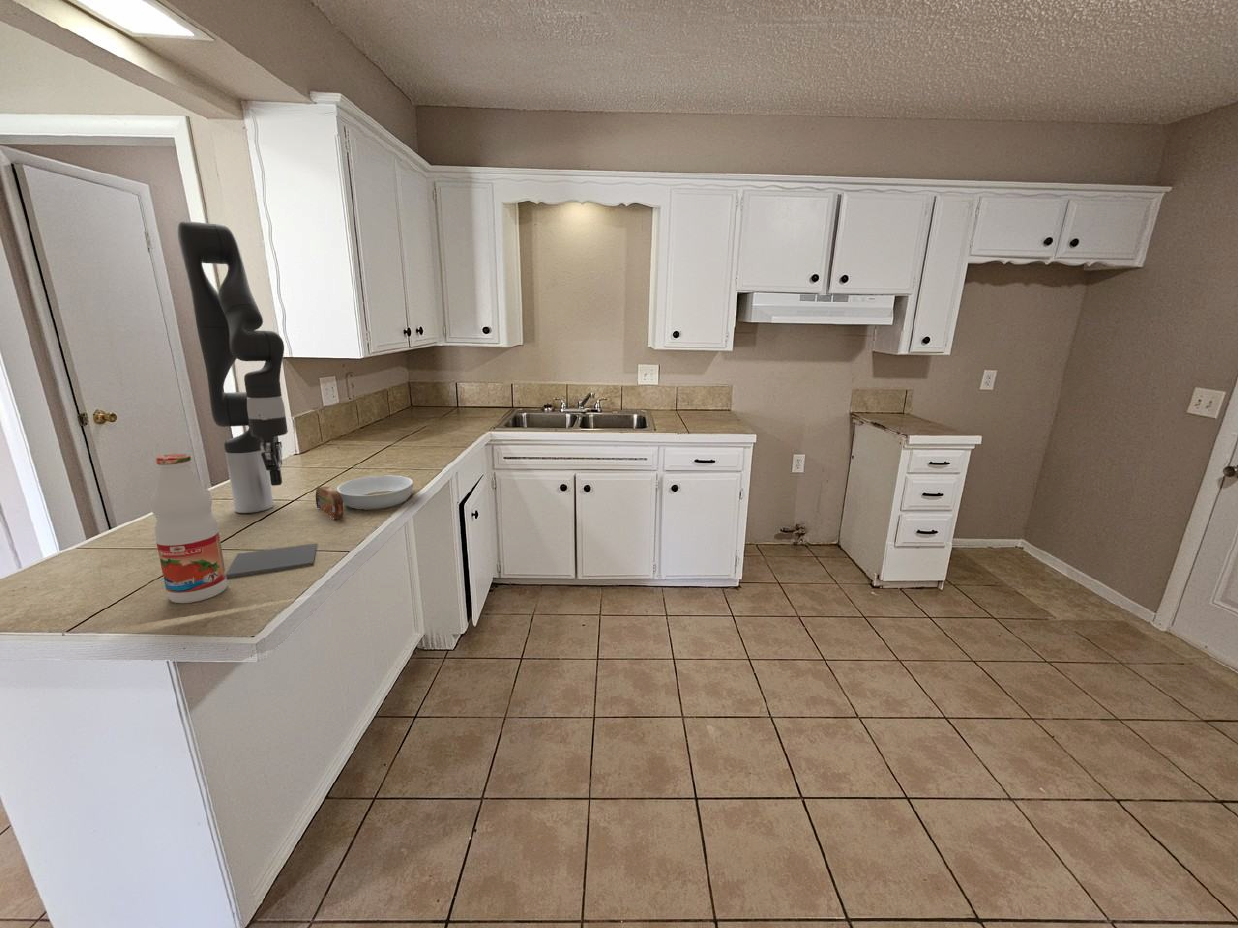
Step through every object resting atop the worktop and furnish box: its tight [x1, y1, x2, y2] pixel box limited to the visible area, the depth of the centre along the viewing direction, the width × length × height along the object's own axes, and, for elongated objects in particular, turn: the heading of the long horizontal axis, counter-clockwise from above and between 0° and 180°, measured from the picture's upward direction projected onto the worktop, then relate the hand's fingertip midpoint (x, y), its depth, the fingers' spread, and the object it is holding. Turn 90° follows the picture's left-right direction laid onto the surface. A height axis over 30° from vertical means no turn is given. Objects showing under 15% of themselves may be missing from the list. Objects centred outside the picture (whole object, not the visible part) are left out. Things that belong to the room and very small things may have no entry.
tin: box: [315, 486, 344, 521], centre depth 146 cm, size 15×3×8 cm, turn 47°
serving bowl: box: [336, 474, 414, 511], centre depth 157 cm, size 21×21×7 cm
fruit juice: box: [149, 453, 228, 604], centre depth 100 cm, size 9×9×28 cm
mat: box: [226, 542, 318, 579], centre depth 118 cm, size 12×16×1 cm
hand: (276, 484), depth 130 cm, fingers closed
